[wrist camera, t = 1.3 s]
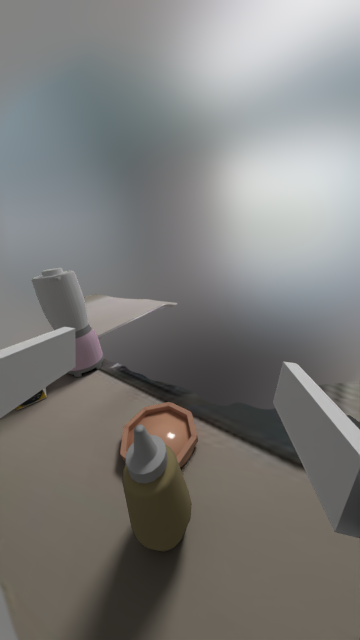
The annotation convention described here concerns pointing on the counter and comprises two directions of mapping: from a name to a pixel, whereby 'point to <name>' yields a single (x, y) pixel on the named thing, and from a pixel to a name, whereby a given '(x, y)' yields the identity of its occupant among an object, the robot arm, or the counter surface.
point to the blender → (69, 315)
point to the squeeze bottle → (155, 492)
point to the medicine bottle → (33, 399)
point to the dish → (164, 429)
